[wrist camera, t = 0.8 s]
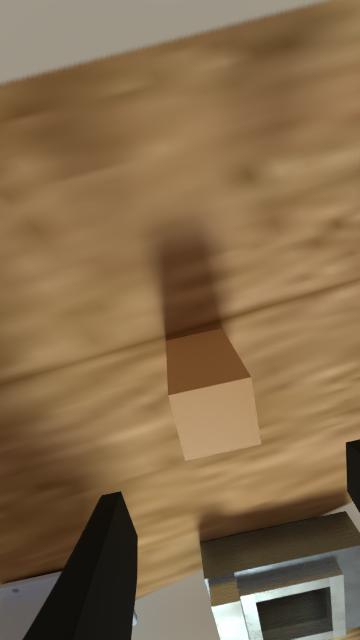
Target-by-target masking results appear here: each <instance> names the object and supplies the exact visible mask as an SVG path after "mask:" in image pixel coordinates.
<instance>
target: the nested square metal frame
mask: <svg viewBox="0 0 360 640" xmlns="http://www.w3.org/2000/svg"><path fill="white" fill-rule="evenodd" d="M200 547H201V555H202V564H203V572H204V579H205V583H206V586H207V590H208V593H209V597H210V601H211V607H212V611H213V614H214V617H215V621H216V625H217V628H218V631H219V635H220V639H221V640H327V639H332V638H337V637H341V636H346V630H348V629H352V628H357V627H360V533H359V531H358V530H357V528H356V527H355V525H354V523H353V522H352V520H351V519H350V517H349V516H348V514H347V513H346V512H345V511H344V512H339V513H335V514H330V515H325V516H321V517H316V518H311V519H307V520H302V521H298V522H293V523H288V524H284V525H279V526H275V527H270V528H265V529H261V530H256V531H252V532H247V533H242V534H238V535H233V536H228V537H224V538H219V539H215V540H210V541H205V542H201V543H200Z"/></svg>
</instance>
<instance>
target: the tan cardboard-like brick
mask: <svg viewBox="0 0 360 640" xmlns="http://www.w3.org/2000/svg"><path fill="white" fill-rule="evenodd" d="M166 353H167V378H168V397H169V400H170V404H171V408H172V412H173V416H174V419H175V423H176V427H177V431H178V435H179V439H180V442H181V446H182V450H183V454H184V458H185V461H187V460H191V459H196V458H201V457H205V456H210V455H214V454H219V453H223V452H228V451H233V450H237V449H242V448H246V447H251V446H256V445H260V444H261V439H260V433H259V426H258V419H257V413H256V406H255V399H254V392H253V386H252V379H251V376H250V374H249V373H248V371H247V369H246V368H245V366H244V364H243V363H242V361H241V359H240V358H239V356H238V354H237V353H236V351H235V349H234V348H233V346H232V344H231V343H230V341H229V339H228V338H227V336H226V334H225V333H224V331H223V329H222V328H221V329H216V330H212V331H207V332H202V333H198V334H193V335H189V336H184V337H180V338H175V339H171V340H166Z"/></svg>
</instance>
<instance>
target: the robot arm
mask: <svg viewBox="0 0 360 640" xmlns="http://www.w3.org/2000/svg"><path fill="white" fill-rule="evenodd" d="M346 462H347V491H348V493H349V495H350V497H351V498H352V500H353V502H354V504H355V505H356V507H357V509H358V511H359V512H360V440H355V441H351V442H346ZM137 542H138V536H137V534H136V531H135V528H134V526H133V523H132V520H131V517H130V515H129V512H128V509H127V507H126V504H125V501H124V499H123V496H122V493H121V491H120V492H116V493H111V494H107V495H102V496H101V498H100V499H99V501H98V503H97V505H96V507H95V509H94V511H93V513H92V515H91V517H90V519H89V521H88V523H87V525H86V527H85V529H84V531H83V533H82V535H81V537H80V539H79V540H78V542H77V544H76V546H75V548H74V550H73V552H72V554H71V556H70V557H69V559H68V561H67V563H66V565H65V567H64V569H63V570H62V571H61V572H56V573H52V574H47V575H42V576H38V577H33V578H29V579H24V580H19V581H15V582H10V583H5V584H2V585H1V586H0V599H1V600H0V640H131V635H132V626H134V625H136V624H137V615H136V613H135V610H134V605H135V595H136V584H137Z"/></svg>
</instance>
